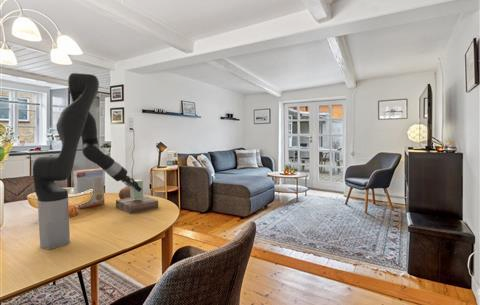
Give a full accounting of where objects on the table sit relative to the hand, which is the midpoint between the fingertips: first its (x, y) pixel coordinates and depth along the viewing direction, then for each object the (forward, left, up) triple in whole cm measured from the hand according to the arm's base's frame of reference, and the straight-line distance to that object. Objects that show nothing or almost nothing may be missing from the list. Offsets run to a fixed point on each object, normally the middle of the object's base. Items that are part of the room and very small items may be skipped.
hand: (138, 189), depth 148 cm
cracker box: (+23, +18, -10) cm, 31 cm away
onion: (+17, -1, -10) cm, 20 cm away
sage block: (0, +1, -5) cm, 5 cm away
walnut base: (0, +1, -10) cm, 10 cm away
